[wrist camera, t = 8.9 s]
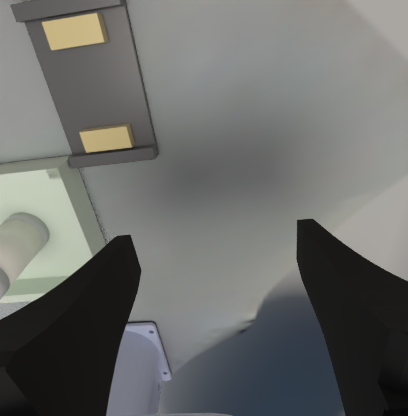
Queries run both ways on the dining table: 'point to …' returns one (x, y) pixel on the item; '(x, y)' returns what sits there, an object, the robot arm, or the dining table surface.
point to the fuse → (19, 245)
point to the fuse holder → (92, 78)
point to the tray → (50, 221)
